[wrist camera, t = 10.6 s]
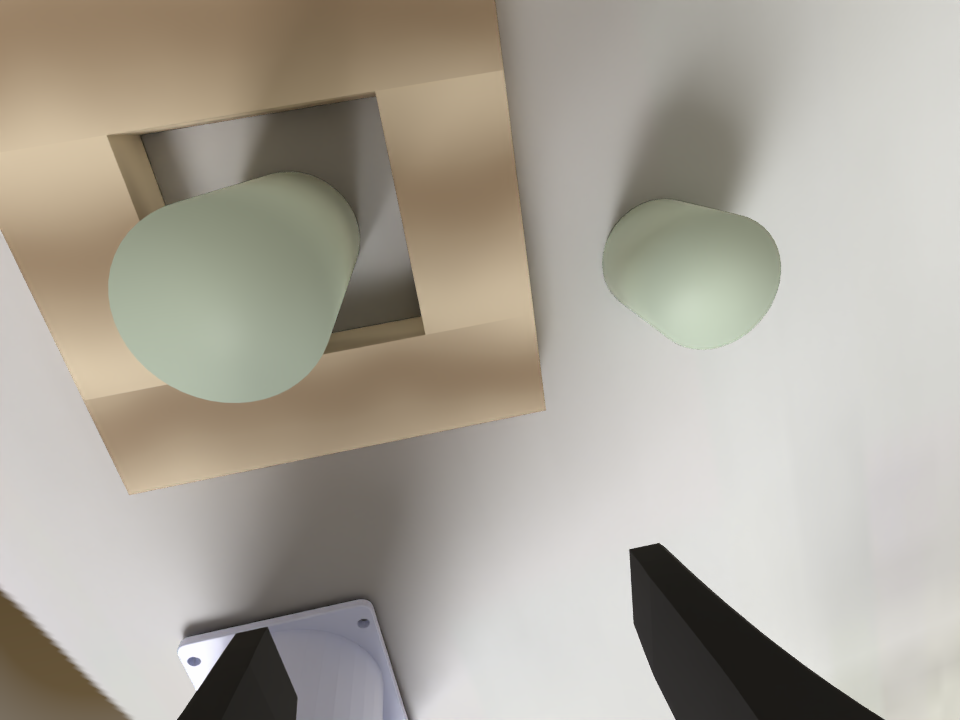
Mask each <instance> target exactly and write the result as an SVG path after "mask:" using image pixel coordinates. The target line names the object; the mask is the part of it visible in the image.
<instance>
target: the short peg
mask: <svg viewBox="0 0 960 720" xmlns="http://www.w3.org/2000/svg"><path fill="white" fill-rule="evenodd" d="M602 268H603V275H604V278H605V282H606V284H607V286H608V288H609V290H610V292H611V293H612V294H613V296H614V297H615V298H616V299H617V300H618V301H620V302H621V303H622V304H623V305H625V306H626V307H627V308H629V309H630V310H631V311H633V312H634V313H635V314H637V315H638V316H639V317H640V318H642V319H643V320H644V321H646V322H647V323H648V324H650V325H651V326H652V327H654V328H655V329H656V330H658V331H659V332H660V333H662V334H663V335H664V336H666V337H667V338H668V339H670V340H671V341H673V342H674V343H676V344H678V345H680V346H683V347H686V348H690V349H697V350H707V349H715V348H719V347H722V346H725V345H728V344H730V343H732V342H734V341H736V340H738V339H740V338H741V337H743V336H744V335H746V334H747V333H748V332H749V331H751V330H752V329H753V328H754V327H755V326H756V325H757V324H758V323H759V322H760V321H761V319H762V318H763V317H764V316H765V314H766V313H767V311H768V310H769V308H770V307H771V304H772V302H773V300H774V298H775V296H776V293H777V290H778V286H779V282H780V275H781V262H780V255H779V252H778V248H777V246H776V244H775V241H774V239H773V238H772V236H771V235H770V233H769V232H768V231H767V230H766V229H765V228H764V227H763V226H762V225H760V224H759V223H758V222H756V221H754V220H752V219H750V218H748V217H745V216H741V215H737V214H733V213H729V212H724V211H720V210H716V209H712V208H707V207H703V206H699V205H695V204H690V203H686V202H682V201H678V200H672V199H657V200H652V201H648V202H645V203H643V204H640V205H639V206H637V207H635V208H633V209H632V210H630V211H629V212H628V213H627V214H625V215H624V216H623V217H622V218H621V219H620V220H619V222H618V223H617V224H616V225H615V227H614V228H613V230H612V231H611V233H610V235H609V237H608V239H607V242H606V244H605V248H604V252H603V260H602Z"/></svg>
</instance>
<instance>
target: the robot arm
mask: <svg viewBox="0 0 960 720" xmlns="http://www.w3.org/2000/svg"><path fill="white" fill-rule="evenodd" d="M629 551H630V568H631V585H632V602H633V620H634V625H635V628H636V631H637V633H638V636H639V639H640V641H641V644H642V647H643V649H644V652H645V655H646V657H647V660H648V662H649V665H650V667H651V670H652V673H653V675H654V677H655V679H656V681H657V683H658V685H659V687H660V689H661V691H662V693H663V695H664V697H665V699H666V701H667V703H668V705H669V707H670V709H671V711H672V713H673V715H674V717H675V719H676V720H884V719H883V718H881V717H880V716H878V715H876V714H875V713H873V712H872V711H870V710H869V709H867V708H865V707H864V706H862V705H861V704H859V703H858V702H856V701H855V700H853V699H852V698H850V697H849V696H848V695H846V694H845V693H843V692H842V691H840V690H839V689H837V688H836V687H834V686H833V685H831V684H830V683H828V682H827V681H826V680H824V679H823V678H821V677H820V676H819V675H817V674H816V673H814V672H813V671H812V670H810V669H809V668H807V667H806V666H805V665H803V664H802V663H801V662H799V661H798V660H797V659H795V658H794V657H793V656H791V655H790V654H789V653H787V652H786V651H785V650H783V649H782V648H781V647H780V646H778V645H777V644H776V643H774V642H773V641H772V640H771V639H769V638H768V637H767V636H765V635H764V634H763V633H762V632H760V631H759V630H758V629H757V628H755V627H754V626H753V625H752V624H751V623H749V622H748V621H747V620H746V619H745V618H743V617H742V616H741V615H740V614H739V613H737V612H736V611H735V610H734V609H733V608H731V607H730V606H729V605H728V604H727V603H725V602H724V601H723V600H722V599H721V598H720V597H719V596H717V595H716V594H715V593H714V592H713V591H712V590H711V589H709V588H708V587H707V586H706V585H705V584H704V583H703V582H702V581H701V580H699V579H698V578H697V577H696V576H695V575H694V574H693V573H692V572H691V571H690V570H688V569H687V568H686V567H685V566H684V565H683V564H682V563H681V562H680V561H679V560H678V559H677V558H676V557H675V556H674V555H672V554H671V553H670V552H669V551H668V550H667V549H666V548H665V547H664V546H663V545H661V544H660V543H657V544H653V545H648V546H643V547H639V548H634V549H629ZM361 619H367V620H366V621H361ZM177 654H178V656H179V658H180V660H181V662H182V664H183V666H184V668H185V670H186V672H187V674H188V676H189V678H190V679H191V681H192V683H193V685H194V687H195V689H196V693H195V694H194V696H193V697H192V699H191V700H190V702H189V703H188V705H187V706H186V708H185V709H184V711H183V712H182V714H181V715H180V716H179V718H178V719H177V720H408V718H407V715H406V711H405V708H404V705H403V702H402V698H401V695H400V692H399V689H398V686H397V682H396V679H395V676H394V673H393V669H392V666H391V663H390V660H389V656H388V653H387V650H386V647H385V643H384V640H383V637H382V634H381V630H380V627H379V624H378V621H377V617H376V614H375V611H374V608H373V605H372V603H371V602H369V601H368V600H364V599H359V600H354V601H349V602H345V603H340V604H336V605H331V606H327V607H322V608H318V609H313V610H309V611H304V612H299V613H295V614H290V615H286V616H281V617H277V618H272V619H268V620H263V621H259V622H254V623H250V624H245V625H240V626H236V627H231V628H227V629H222V630H218V631H213V632H209V633H204V634H200V635H195V636H191V637H187V638H184V639H183V640H182V641H181V642H180V645H179V647H178V650H177ZM195 657H197V658H195Z"/></svg>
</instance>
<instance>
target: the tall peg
mask: <svg viewBox="0 0 960 720" xmlns="http://www.w3.org/2000/svg"><path fill="white" fill-rule="evenodd" d="M359 247H360V234H359V228H358V224H357V220H356V218H355V215H354V213H353V211H352V209H351V207H350V205H349V204H348V203H347V201H346V200H345V199H344V197H343V196H342V195H341V194H340V193H339V192H338V191H337V190H336V189H334V188H333V187H332V186H331V185H329V184H328V183H326V182H325V181H323V180H321V179H319V178H317V177H314V176H312V175H309V174H305V173H300V172H278V173H273V174H269V175H266V176H263V177H259V178H256V179H253V180H249V181H246V182H243V183H239V184H236V185H233V186H229V187H226V188H223V189H219V190H216V191H212V192H209V193H206V194H202V195H199V196H196V197H192V198H189V199H186V200H182V201H179V202H176V203H173V204H170V205H167V206H164V207H162V208H160V209H158V210H156V211H154V212H152V213H150V214H149V215H147V216H146V217H145V218H143V219H142V220H140V221H139V222H138V223H137V224H136V225H135V226H134V227H133V228H132V229H131V230H130V231H129V232H128V233H127V235H126V236H125V237H124V239H123V240H122V242H121V243H120V245H119V247H118V249H117V251H116V253H115V255H114V258H113V261H112V264H111V268H110V274H109V280H108V296H109V303H110V309H111V313H112V316H113V319H114V323H115V325H116V327H117V329H118V332H119V334H120V336H121V338H122V339H123V341H124V342H125V344H126V346H127V347H128V349H129V350H130V351H131V352H132V354H133V355H134V356H135V357H136V359H137V360H138V361H139V362H140V363H141V364H142V365H143V366H144V367H145V368H146V369H147V370H148V371H150V372H151V373H152V374H153V375H155V376H156V377H157V378H159V379H160V380H162V381H163V382H165V383H166V384H168V385H170V386H171V387H173V388H175V389H177V390H179V391H182V392H184V393H186V394H189V395H192V396H194V397H197V398H201V399H205V400H209V401H216V402H223V403H244V402H253V401H258V400H263V399H267V398H270V397H272V396H275V395H278V394H280V393H282V392H284V391H286V390H288V389H290V388H291V387H293V386H294V385H296V384H297V383H299V382H300V381H301V380H302V379H303V378H305V377H306V376H307V375H308V374H309V373H310V372H311V370H312V369H313V368H314V367H315V366H316V364H317V363H318V361H319V360H320V358H321V357H322V355H323V353H324V351H325V349H326V346H327V344H328V342H329V339H330V336H331V333H332V330H333V327H334V324H335V321H336V318H337V316H338V313H339V310H340V307H341V304H342V301H343V298H344V295H345V292H346V290H347V287H348V284H349V281H350V278H351V275H352V272H353V269H354V266H355V264H356V261H357V257H358V254H359Z"/></svg>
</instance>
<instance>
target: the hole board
mask: <svg viewBox="0 0 960 720" xmlns="http://www.w3.org/2000/svg"><path fill="white" fill-rule="evenodd" d="M374 96H376V98H377V103H378V107H379V112H380V117H381V122H382V127H383V132H384V136H385V141H386V146H387V151H388V156H389V161H390V166H391V170H392V175H393V180H394V185H395V190H396V195H397V199H398V204H399V209H400V214H401V219H402V224H403V228H404V233H405V238H406V243H407V248H408V253H409V257H410V262H411V267H412V272H413V277H414V282H415V287H416V291H417V296H418V301H419V306H420V311H421V316H420V317H415V318H410V319H405V320H399V321H394V322H389V323H384V324H378V325H373V326H368V327H362V328H357V329H352V330H347V331H341V332H336V333H331V336H330V339H329V342H328V344H327V346H326V349H325V351H324V353H323V355H322V357H321V358H320V360H319V361H318V363H317V364H316V366H315V367H314V368H313V369H312V370H311V372H310V373H309V374H308V375H307V376H306V377H305V378H303V379H302V380H301V381H300V382H299V383H297V384H296V385H294V386H293V387H291V388H290V389H288V390H286V391H284V392H282V393H280V394H278V395H275V396H272V397H270V398H267V399H263V400H258V401H253V402H244V403H223V402H216V401H209V400H205V399H201V398H197V397H194V396H192V395H189V394H186V393H184V392H182V391H179V390H177V389H175V388H173V387H171V386H170V385H168V384H166V383H165V382H163V381H162V380H160V379H159V378H157V377H156V376H155V375H153V374H152V373H151V372H150V371H148V370H147V369H146V368H145V367H144V366H143V365H142V364H141V363H140V362H139V361H138V360H137V359H136V357H135V356H134V355H133V354H132V352H131V351H130V350H129V349H128V347H127V346H126V344H125V342H124V341H123V339H122V338H121V336H120V334H119V332H118V329H117V327H116V325H115V323H114V319H113V316H112V313H111V309H110V303H109V296H108V280H109V274H110V268H111V264H112V261H113V258H114V255H115V253H116V251H117V249H118V247H119V245H120V243H121V242H122V240H123V239H124V237H125V236H126V235H127V233H128V232H129V231H130V230H131V229H132V228H133V227H134V226H135V225H136V224H137V223H138V222H139V221H140V220H142V219H143V218H145V217H146V216H147V215H149V214H150V213H152V212H154V211H156V210H158V209H160V208H162V207H164V206H165V203H164V201H163V198H162V195H161V193H160V190H159V187H158V184H157V182H156V179H155V176H154V173H153V171H152V168H151V165H150V162H149V160H148V157H147V154H146V151H145V149H144V146H143V143H142V140H141V138H140V135H143V134H149V133H155V132H161V131H167V130H173V129H179V128H185V127H191V126H197V125H204V124H210V123H216V122H222V121H228V120H234V119H240V118H246V117H252V116H258V115H264V114H270V113H277V112H283V111H289V110H295V109H301V108H307V107H313V106H319V105H325V104H331V103H337V102H343V101H350V100H356V99H362V98H368V97H374ZM0 229H1V232H2V234H3V236H4V238H5V240H6V242H7V244H8V246H9V248H10V250H11V252H12V254H13V256H14V258H15V260H16V262H17V265H18V267H19V269H20V271H21V273H22V275H23V277H24V279H25V281H26V283H27V285H28V287H29V289H30V291H31V293H32V295H33V298H34V300H35V302H36V304H37V306H38V308H39V310H40V312H41V314H42V316H43V318H44V320H45V322H46V324H47V326H48V328H49V330H50V333H51V335H52V337H53V339H54V341H55V343H56V345H57V347H58V349H59V351H60V353H61V355H62V357H63V359H64V361H65V363H66V366H67V368H68V370H69V372H70V374H71V376H72V378H73V380H74V382H75V384H76V386H77V388H78V390H79V392H80V394H81V396H82V399H83V401H84V403H85V405H86V407H87V409H88V411H89V413H90V415H91V417H92V419H93V421H94V423H95V425H96V427H97V429H98V432H99V434H100V436H101V438H102V440H103V442H104V444H105V446H106V448H107V450H108V452H109V454H110V456H111V458H112V460H113V462H114V465H115V467H116V469H117V471H118V473H119V475H120V477H121V479H122V481H123V483H124V485H125V487H126V489H127V491H128V493H129V495H132V494H137V493H142V492H147V491H152V490H156V489H161V488H166V487H171V486H176V485H181V484H186V483H191V482H196V481H201V480H206V479H211V478H215V477H220V476H225V475H230V474H235V473H240V472H245V471H250V470H255V469H260V468H265V467H269V466H274V465H279V464H284V463H289V462H294V461H299V460H304V459H309V458H314V457H319V456H324V455H328V454H333V453H338V452H343V451H348V450H353V449H358V448H363V447H368V446H373V445H378V444H382V443H387V442H392V441H397V440H402V439H407V438H412V437H417V436H422V435H427V434H432V433H437V432H441V431H446V430H451V429H456V428H461V427H466V426H471V425H476V424H481V423H486V422H491V421H495V420H500V419H505V418H510V417H515V416H520V415H525V414H530V413H535V412H540V411H545V410H546V408H545V400H544V391H543V383H542V375H541V367H540V359H539V351H538V343H537V335H536V327H535V319H534V311H533V303H532V295H531V287H530V279H529V270H528V262H527V254H526V246H525V238H524V230H523V222H522V214H521V206H520V198H519V190H518V182H517V174H516V166H515V158H514V149H513V141H512V133H511V125H510V117H509V109H508V101H507V93H506V85H505V77H504V69H503V61H502V53H501V45H500V36H499V28H498V20H497V12H496V4H495V0H0Z"/></svg>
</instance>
